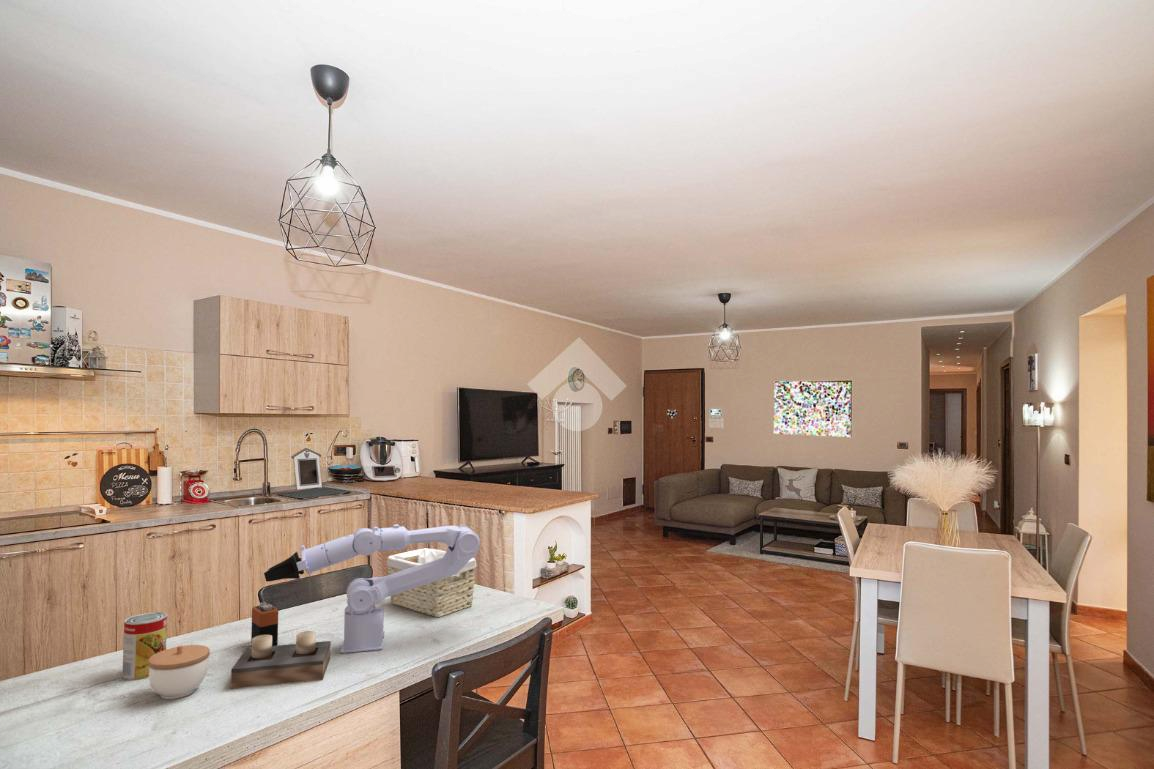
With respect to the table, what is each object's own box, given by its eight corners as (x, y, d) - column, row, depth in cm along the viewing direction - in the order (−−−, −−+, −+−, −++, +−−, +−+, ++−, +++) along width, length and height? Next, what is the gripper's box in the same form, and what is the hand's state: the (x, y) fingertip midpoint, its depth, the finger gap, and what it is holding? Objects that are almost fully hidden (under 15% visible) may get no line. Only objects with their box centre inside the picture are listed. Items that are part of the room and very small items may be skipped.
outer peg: (273, 650, 138) (274, 633, 138) (269, 656, 134) (270, 640, 134) (254, 651, 137) (254, 635, 137) (249, 658, 133) (249, 641, 133)
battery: (259, 651, 149) (260, 609, 149) (250, 643, 154) (251, 603, 154) (278, 646, 152) (279, 605, 152) (269, 639, 157) (270, 599, 157)
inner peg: (316, 646, 140) (316, 630, 141) (313, 652, 136) (314, 636, 137) (297, 648, 139) (298, 631, 139) (294, 654, 135) (294, 638, 136)
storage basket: (478, 606, 184) (479, 556, 185) (436, 621, 171) (437, 567, 172) (426, 592, 198) (426, 546, 199) (383, 605, 185) (384, 555, 186)
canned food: (173, 667, 139) (175, 614, 140) (139, 682, 132) (141, 625, 132) (149, 663, 142) (150, 610, 142) (113, 677, 134) (115, 621, 135)
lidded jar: (162, 709, 119) (164, 660, 120) (136, 696, 125) (138, 649, 126) (218, 688, 129) (220, 643, 129) (192, 677, 134) (193, 633, 135)
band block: (330, 658, 145) (330, 640, 145) (322, 679, 133) (323, 660, 133) (245, 666, 140) (246, 648, 140) (230, 688, 128) (231, 669, 129)
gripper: (324, 536, 157) (266, 556, 152) (321, 540, 144) (258, 561, 139) (331, 563, 157) (274, 583, 152) (329, 569, 143) (266, 592, 138)
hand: (267, 575), depth 145 cm, fingers open, 7 cm apart
